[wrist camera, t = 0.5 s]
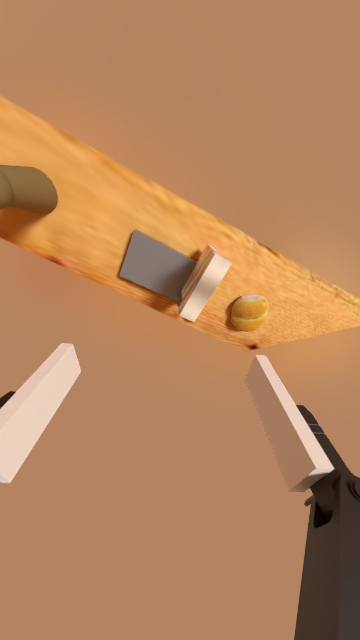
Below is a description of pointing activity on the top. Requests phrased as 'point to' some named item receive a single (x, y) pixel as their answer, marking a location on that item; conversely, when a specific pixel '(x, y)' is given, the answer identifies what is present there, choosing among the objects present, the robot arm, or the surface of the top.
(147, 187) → the top surface
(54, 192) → the olive mushroom
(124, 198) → the top surface
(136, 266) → the board
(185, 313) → the gate
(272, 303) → the top surface
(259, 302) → the bread roll
